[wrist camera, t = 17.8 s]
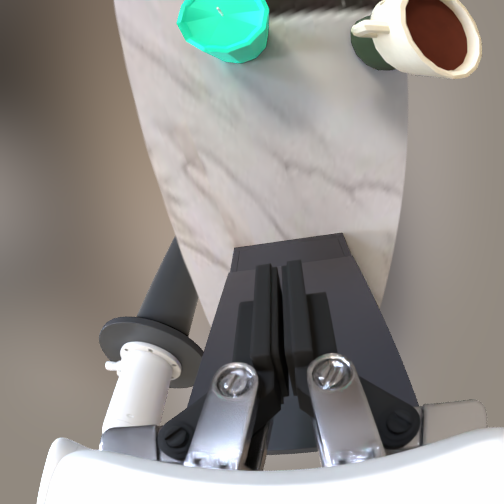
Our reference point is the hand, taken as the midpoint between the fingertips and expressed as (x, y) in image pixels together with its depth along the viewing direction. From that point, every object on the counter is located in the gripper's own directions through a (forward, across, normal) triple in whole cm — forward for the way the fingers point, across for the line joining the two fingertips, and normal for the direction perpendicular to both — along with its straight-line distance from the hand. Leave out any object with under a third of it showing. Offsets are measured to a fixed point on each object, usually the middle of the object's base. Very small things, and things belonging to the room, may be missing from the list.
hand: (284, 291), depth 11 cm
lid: (+6, 0, +10) cm, 11 cm away
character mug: (+22, -13, -11) cm, 27 cm away
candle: (+22, +1, -13) cm, 25 cm away
